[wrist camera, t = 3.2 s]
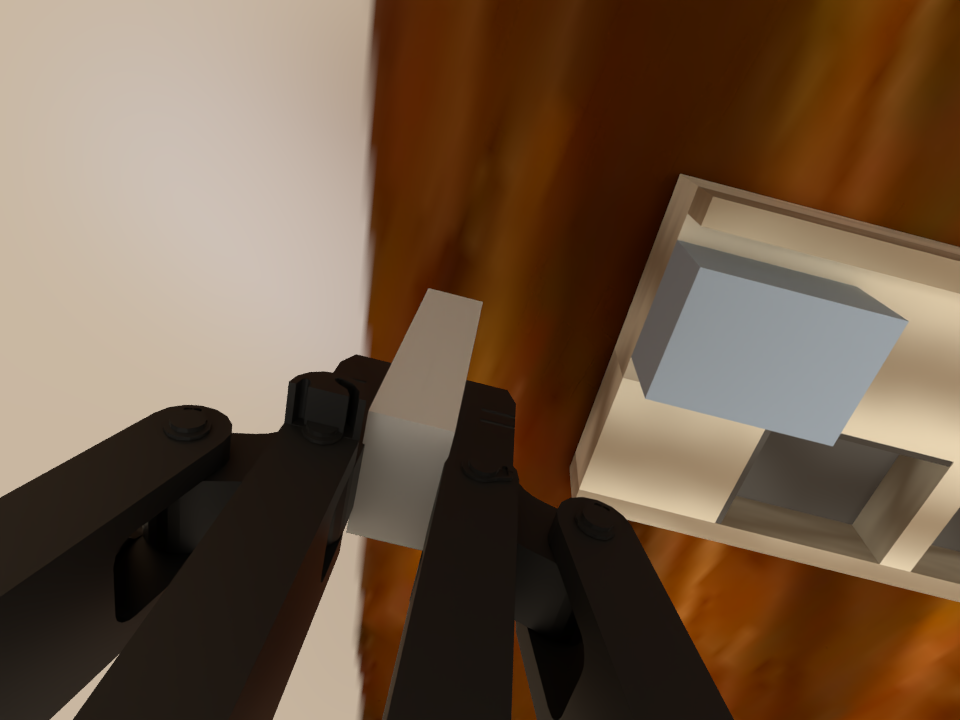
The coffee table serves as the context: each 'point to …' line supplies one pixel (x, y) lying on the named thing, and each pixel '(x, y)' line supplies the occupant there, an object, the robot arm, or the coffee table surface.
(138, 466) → the robot arm
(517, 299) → the coffee table surface
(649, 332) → the block
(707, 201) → the box
